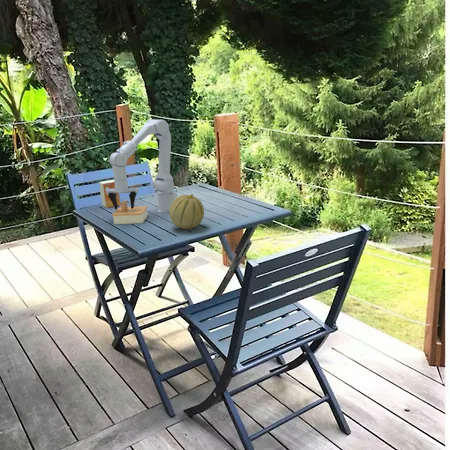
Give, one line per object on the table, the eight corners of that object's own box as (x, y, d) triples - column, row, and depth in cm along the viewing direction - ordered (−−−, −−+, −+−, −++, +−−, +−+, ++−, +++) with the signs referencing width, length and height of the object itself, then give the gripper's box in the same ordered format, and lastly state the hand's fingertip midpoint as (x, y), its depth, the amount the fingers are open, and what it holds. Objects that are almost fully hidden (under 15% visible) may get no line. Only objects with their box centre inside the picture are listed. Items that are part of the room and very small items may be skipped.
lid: (147, 209, 218) (146, 197, 217) (142, 216, 207) (140, 204, 206) (119, 210, 220) (118, 199, 218) (112, 217, 209) (110, 205, 207)
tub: (147, 217, 219) (146, 207, 218) (142, 224, 209) (141, 214, 208) (121, 218, 220) (119, 209, 219) (114, 225, 210) (113, 215, 209)
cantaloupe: (169, 225, 205) (165, 192, 200) (201, 221, 208) (199, 188, 203) (173, 235, 191) (169, 200, 186) (208, 231, 194) (205, 196, 189)
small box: (106, 208, 240) (102, 183, 236) (102, 206, 245) (98, 181, 241) (121, 205, 244) (117, 181, 240) (116, 203, 249) (113, 179, 245)
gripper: (102, 182, 206) (106, 211, 210) (134, 180, 204) (137, 210, 209) (106, 178, 212) (111, 207, 216) (138, 177, 211) (141, 205, 215)
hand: (124, 208), depth 213 cm, fingers open, 7 cm apart
